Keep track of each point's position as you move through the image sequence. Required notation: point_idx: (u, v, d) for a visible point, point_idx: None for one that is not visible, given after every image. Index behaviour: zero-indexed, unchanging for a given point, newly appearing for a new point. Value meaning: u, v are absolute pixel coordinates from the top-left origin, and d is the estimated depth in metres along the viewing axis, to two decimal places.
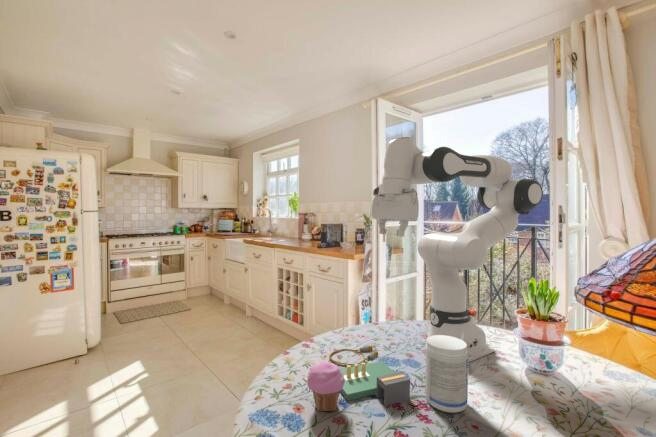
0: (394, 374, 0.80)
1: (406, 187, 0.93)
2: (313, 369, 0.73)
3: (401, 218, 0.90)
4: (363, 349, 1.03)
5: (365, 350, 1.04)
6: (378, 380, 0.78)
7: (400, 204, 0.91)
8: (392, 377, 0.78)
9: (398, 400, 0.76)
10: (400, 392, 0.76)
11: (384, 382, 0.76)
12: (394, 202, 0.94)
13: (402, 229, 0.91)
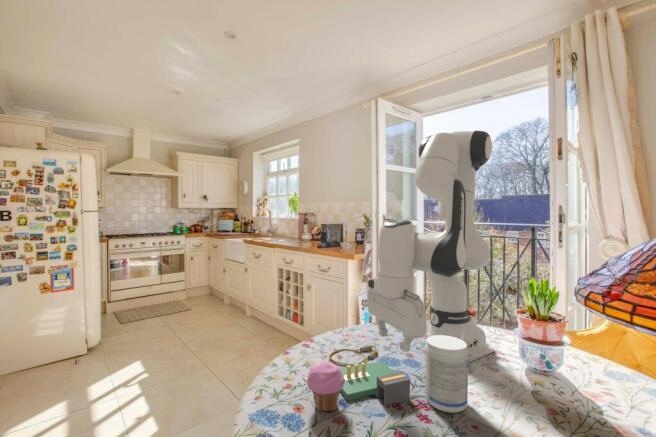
0: (394, 374, 0.80)
1: (408, 287, 0.74)
2: (313, 369, 0.73)
3: (405, 332, 0.70)
4: (363, 349, 1.04)
5: (365, 350, 1.04)
6: (378, 380, 0.78)
7: (402, 312, 0.72)
8: (392, 377, 0.78)
9: (398, 400, 0.76)
10: (400, 392, 0.76)
11: (384, 382, 0.76)
12: (394, 305, 0.75)
13: (407, 343, 0.72)
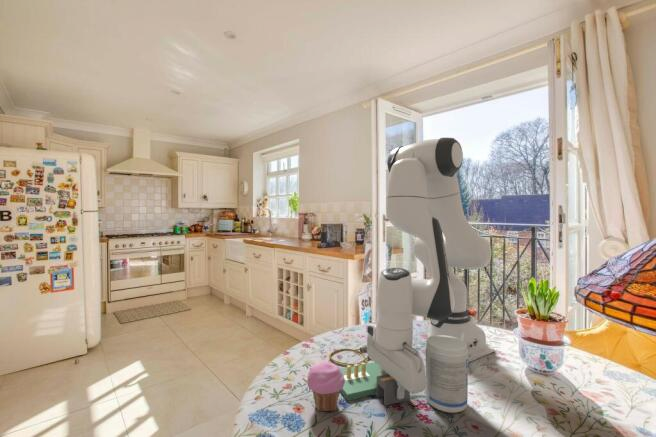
0: None
1: (407, 339, 0.74)
2: (313, 369, 0.73)
3: (404, 386, 0.71)
4: (363, 349, 1.04)
5: (365, 350, 1.04)
6: (378, 380, 0.78)
7: (401, 365, 0.72)
8: None
9: (398, 400, 0.76)
10: None
11: (384, 382, 0.76)
12: (393, 356, 0.75)
13: (401, 391, 0.74)
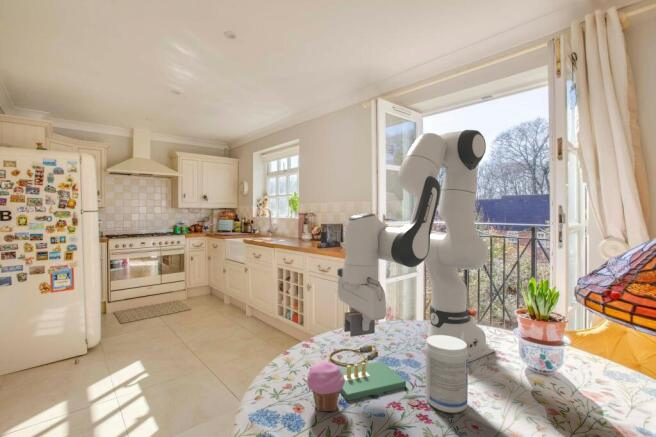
0: None
1: (371, 274, 0.80)
2: (313, 369, 0.73)
3: (367, 315, 0.77)
4: (363, 349, 1.04)
5: (365, 350, 1.04)
6: (345, 315, 0.84)
7: (365, 297, 0.78)
8: (359, 313, 0.84)
9: (363, 332, 0.82)
10: None
11: (350, 316, 0.82)
12: (359, 292, 0.81)
13: (366, 323, 0.81)
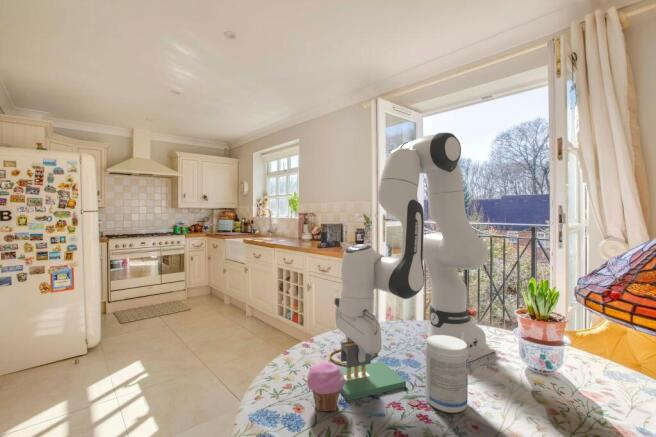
0: None
1: (367, 307, 0.81)
2: (313, 369, 0.73)
3: (363, 349, 0.78)
4: None
5: None
6: (342, 345, 0.85)
7: (361, 330, 0.79)
8: (355, 343, 0.85)
9: (360, 363, 0.83)
10: None
11: (347, 347, 0.83)
12: (355, 323, 0.82)
13: (362, 354, 0.82)
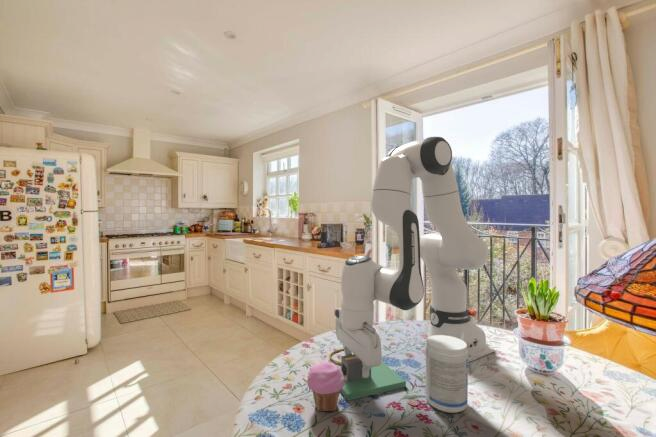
0: None
1: (367, 319, 0.81)
2: (313, 369, 0.73)
3: (363, 361, 0.78)
4: None
5: None
6: (342, 359, 0.85)
7: (361, 343, 0.79)
8: (356, 356, 0.85)
9: (360, 377, 0.84)
10: None
11: (347, 361, 0.83)
12: (355, 336, 0.82)
13: (366, 370, 0.80)
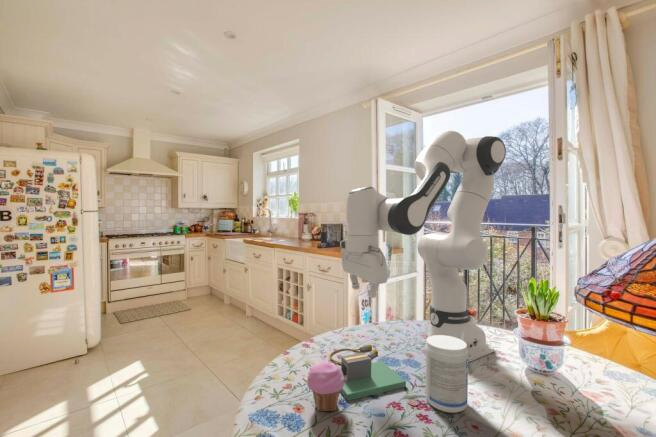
0: (358, 354, 0.87)
1: (372, 243, 0.86)
2: (313, 369, 0.73)
3: (370, 280, 0.83)
4: (363, 348, 1.04)
5: (364, 349, 1.04)
6: (342, 359, 0.85)
7: (367, 264, 0.84)
8: (356, 356, 0.85)
9: (360, 377, 0.84)
10: (362, 370, 0.84)
11: (347, 361, 0.83)
12: (362, 260, 0.87)
13: (373, 290, 0.85)
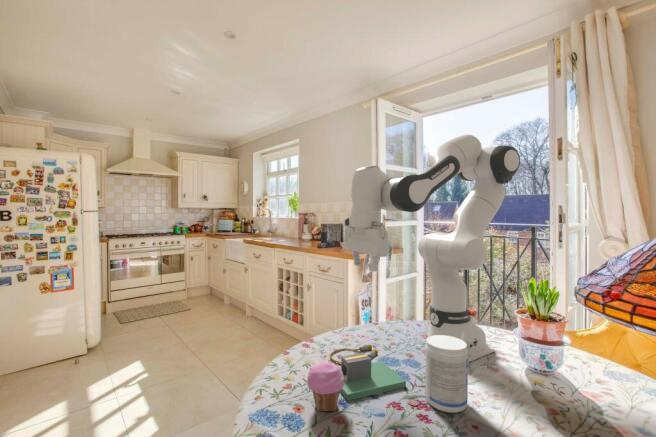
0: (358, 354, 0.87)
1: (375, 219, 0.90)
2: (313, 369, 0.73)
3: (372, 254, 0.86)
4: (362, 348, 1.04)
5: (364, 349, 1.04)
6: (342, 359, 0.85)
7: (370, 238, 0.88)
8: (356, 356, 0.85)
9: (360, 377, 0.84)
10: (362, 370, 0.84)
11: (347, 361, 0.83)
12: (364, 235, 0.91)
13: (374, 264, 0.88)
